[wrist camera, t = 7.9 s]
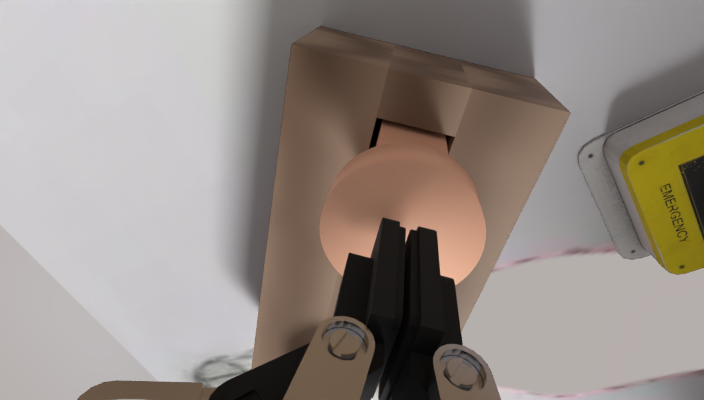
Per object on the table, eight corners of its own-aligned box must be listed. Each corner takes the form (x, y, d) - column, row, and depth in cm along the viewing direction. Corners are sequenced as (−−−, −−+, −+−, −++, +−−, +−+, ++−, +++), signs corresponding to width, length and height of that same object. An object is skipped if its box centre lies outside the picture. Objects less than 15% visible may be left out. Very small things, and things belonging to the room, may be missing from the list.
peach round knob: (480, 110, 19) (513, 186, 12) (442, 210, 22) (453, 314, 15) (363, 81, 19) (335, 142, 13) (340, 185, 22) (308, 278, 15)
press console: (535, 78, 22) (570, 112, 17) (412, 361, 34) (411, 431, 29) (320, 26, 22) (291, 44, 17) (274, 325, 35) (248, 389, 29)
